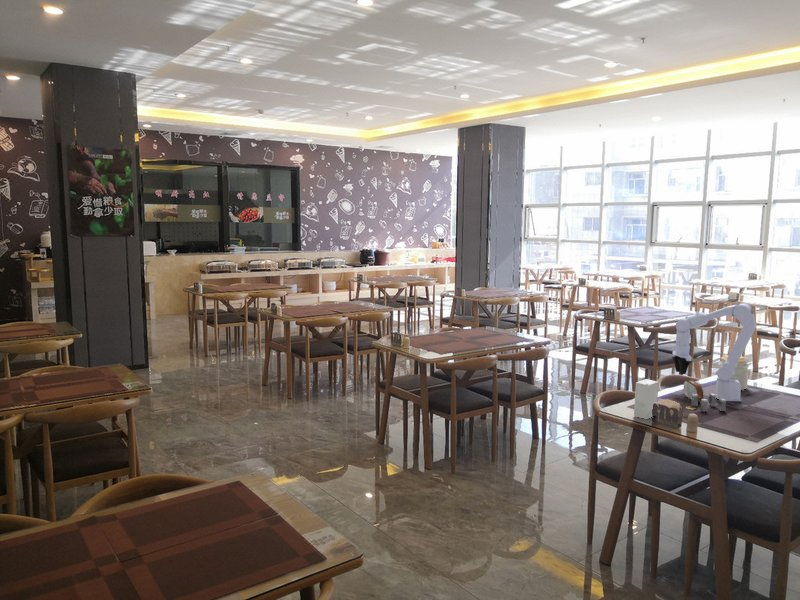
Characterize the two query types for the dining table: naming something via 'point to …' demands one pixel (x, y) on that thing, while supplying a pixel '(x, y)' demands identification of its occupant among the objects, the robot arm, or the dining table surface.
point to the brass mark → (691, 408)
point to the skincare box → (645, 398)
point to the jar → (739, 371)
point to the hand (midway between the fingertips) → (680, 372)
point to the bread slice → (693, 389)
